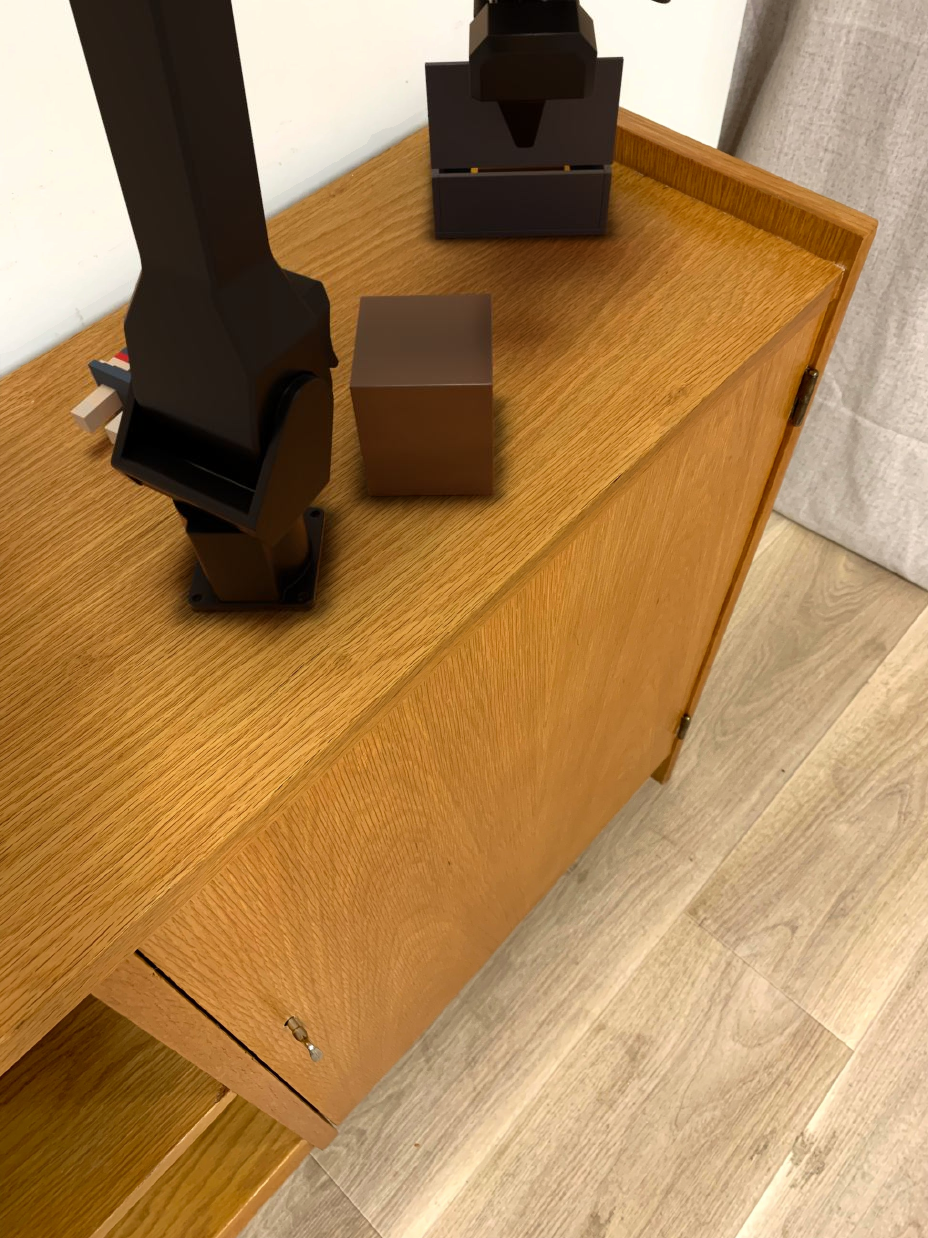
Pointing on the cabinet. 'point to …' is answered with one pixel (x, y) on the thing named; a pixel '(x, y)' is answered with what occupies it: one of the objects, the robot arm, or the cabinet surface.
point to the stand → (425, 394)
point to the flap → (484, 139)
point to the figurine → (105, 395)
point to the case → (521, 202)
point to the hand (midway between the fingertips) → (524, 144)
